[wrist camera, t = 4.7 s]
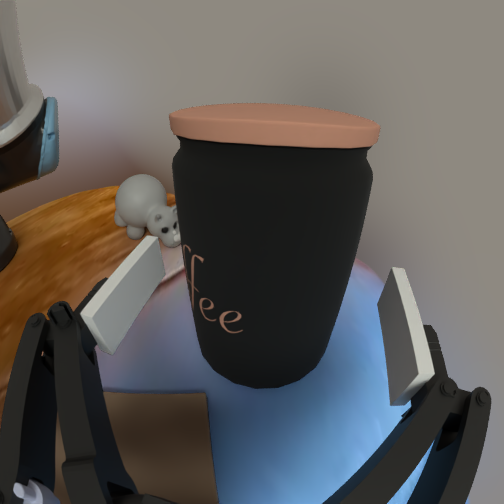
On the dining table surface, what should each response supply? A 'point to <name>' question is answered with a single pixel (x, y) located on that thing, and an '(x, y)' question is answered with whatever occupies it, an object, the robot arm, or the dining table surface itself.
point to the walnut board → (158, 446)
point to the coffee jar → (269, 230)
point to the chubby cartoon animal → (146, 210)
